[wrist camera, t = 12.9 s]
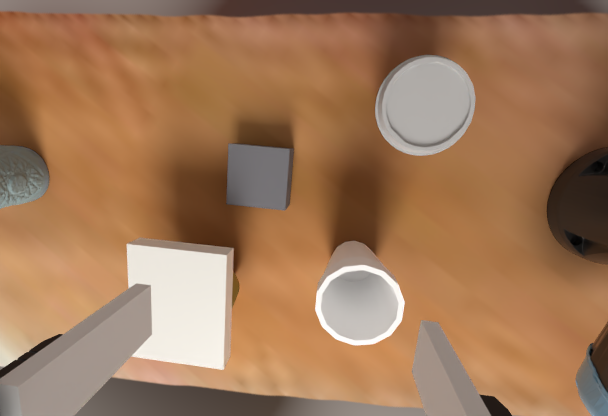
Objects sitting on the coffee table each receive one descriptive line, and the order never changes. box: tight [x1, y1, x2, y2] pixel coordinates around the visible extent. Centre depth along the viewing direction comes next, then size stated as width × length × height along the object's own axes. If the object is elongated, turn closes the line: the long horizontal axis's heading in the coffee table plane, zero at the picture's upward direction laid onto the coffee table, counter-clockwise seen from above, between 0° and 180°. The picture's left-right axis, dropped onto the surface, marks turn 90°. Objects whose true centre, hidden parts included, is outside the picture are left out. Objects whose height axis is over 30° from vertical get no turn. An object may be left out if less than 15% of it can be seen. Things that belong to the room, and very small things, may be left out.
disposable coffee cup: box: [375, 55, 475, 156], centre depth 35 cm, size 10×10×12 cm
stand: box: [226, 144, 294, 210], centre depth 43 cm, size 8×8×4 cm
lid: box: [127, 238, 234, 370], centre depth 39 cm, size 12×15×2 cm
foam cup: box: [315, 241, 405, 345], centre depth 40 cm, size 10×9×13 cm
